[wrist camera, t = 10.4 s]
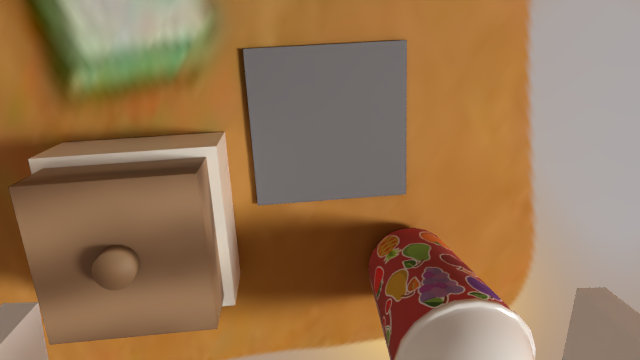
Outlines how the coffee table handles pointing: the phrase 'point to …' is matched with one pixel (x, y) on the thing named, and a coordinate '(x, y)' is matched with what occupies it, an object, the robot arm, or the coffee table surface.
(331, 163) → the mat
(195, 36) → the coffee table surface
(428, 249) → the smoothie
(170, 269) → the lid
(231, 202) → the dish
